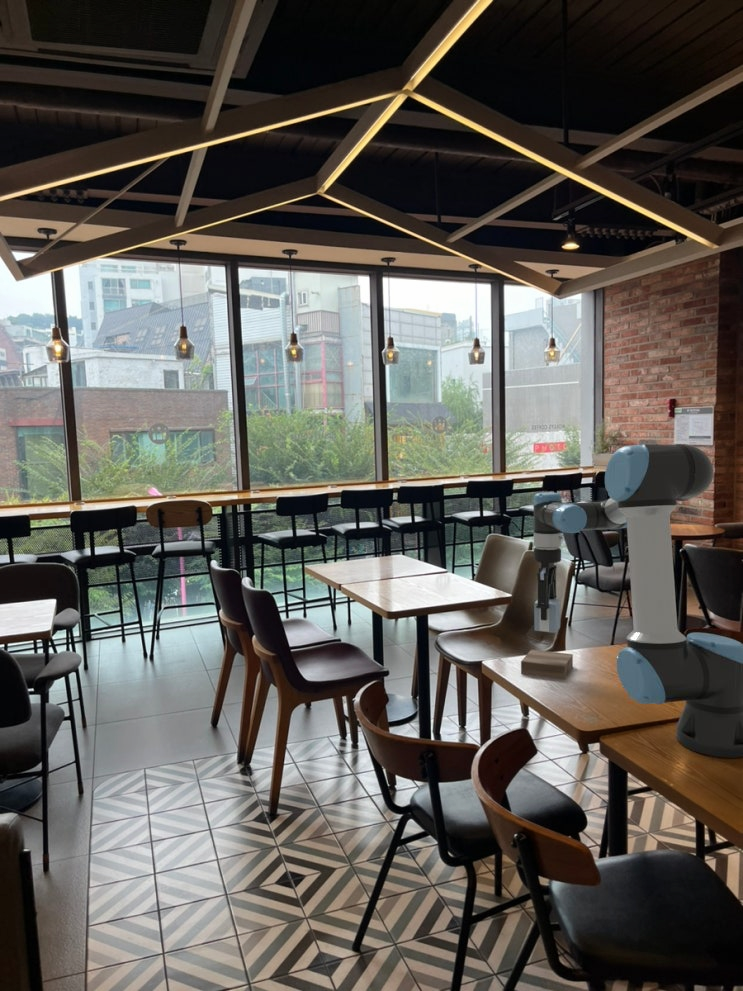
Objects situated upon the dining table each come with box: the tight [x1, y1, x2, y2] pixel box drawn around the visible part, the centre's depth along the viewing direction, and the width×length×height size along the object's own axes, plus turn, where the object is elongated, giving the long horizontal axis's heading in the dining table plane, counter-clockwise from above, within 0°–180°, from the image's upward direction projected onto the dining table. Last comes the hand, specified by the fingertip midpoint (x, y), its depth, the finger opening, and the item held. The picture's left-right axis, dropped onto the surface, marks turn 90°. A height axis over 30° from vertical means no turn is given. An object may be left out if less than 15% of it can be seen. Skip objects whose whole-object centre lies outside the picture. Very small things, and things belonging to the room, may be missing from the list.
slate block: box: [533, 598, 561, 634], centre depth 196 cm, size 6×6×8 cm
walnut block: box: [520, 649, 574, 681], centre depth 198 cm, size 12×12×4 cm
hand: (547, 627), depth 197 cm, fingers closed on slate block, 6 cm apart
